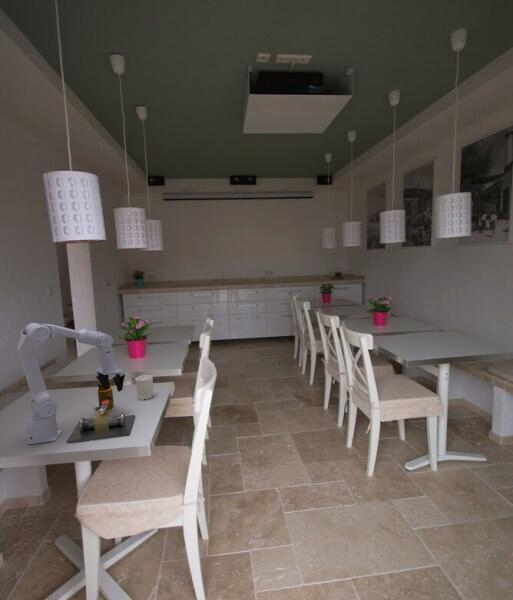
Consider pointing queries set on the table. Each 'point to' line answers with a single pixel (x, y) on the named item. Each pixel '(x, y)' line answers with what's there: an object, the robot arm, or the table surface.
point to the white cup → (144, 386)
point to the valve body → (102, 427)
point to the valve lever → (103, 407)
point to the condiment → (105, 397)
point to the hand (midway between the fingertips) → (113, 389)
